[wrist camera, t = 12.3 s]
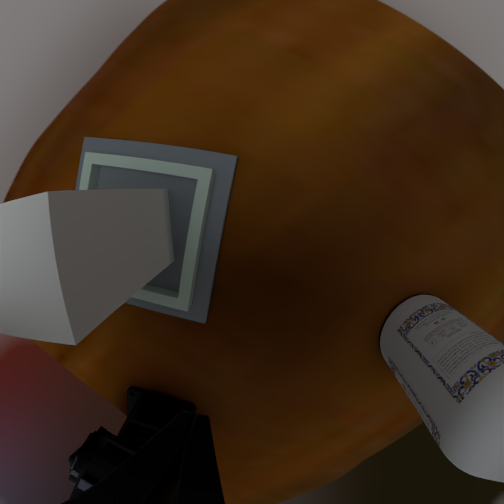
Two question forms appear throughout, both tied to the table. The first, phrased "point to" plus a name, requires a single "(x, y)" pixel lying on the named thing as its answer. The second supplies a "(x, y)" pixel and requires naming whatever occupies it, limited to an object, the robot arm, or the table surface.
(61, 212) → the white post
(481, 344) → the bath foam
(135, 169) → the base plate
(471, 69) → the table surface
